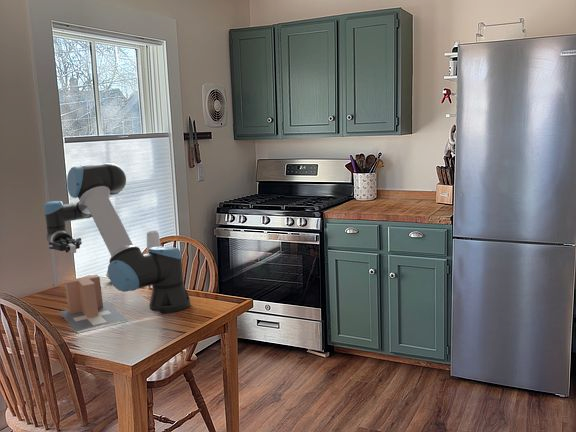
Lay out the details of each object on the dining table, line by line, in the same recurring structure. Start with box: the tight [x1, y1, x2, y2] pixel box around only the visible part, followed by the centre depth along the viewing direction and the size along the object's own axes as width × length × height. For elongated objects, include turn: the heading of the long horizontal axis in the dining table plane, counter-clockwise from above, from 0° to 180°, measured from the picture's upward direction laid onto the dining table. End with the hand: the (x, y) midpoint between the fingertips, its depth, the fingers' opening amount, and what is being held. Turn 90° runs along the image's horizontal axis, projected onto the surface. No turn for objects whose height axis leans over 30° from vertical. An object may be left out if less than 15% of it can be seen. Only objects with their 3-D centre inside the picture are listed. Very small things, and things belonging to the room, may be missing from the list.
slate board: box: [58, 301, 128, 335], centre depth 212 cm, size 28×18×1 cm, turn 32°
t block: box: [64, 274, 104, 318], centre depth 215 cm, size 13×12×12 cm
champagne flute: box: [146, 230, 162, 289], centre depth 249 cm, size 7×7×24 cm
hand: (73, 249), depth 223 cm, fingers closed
